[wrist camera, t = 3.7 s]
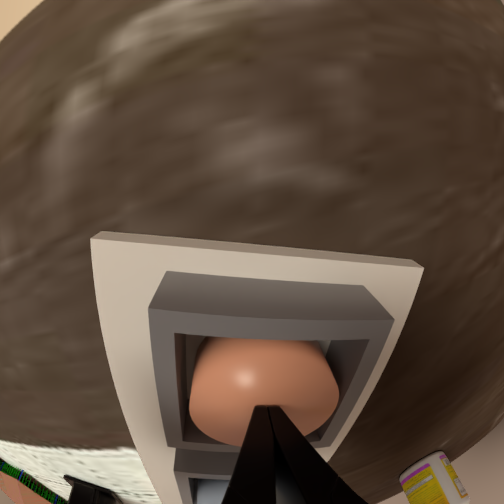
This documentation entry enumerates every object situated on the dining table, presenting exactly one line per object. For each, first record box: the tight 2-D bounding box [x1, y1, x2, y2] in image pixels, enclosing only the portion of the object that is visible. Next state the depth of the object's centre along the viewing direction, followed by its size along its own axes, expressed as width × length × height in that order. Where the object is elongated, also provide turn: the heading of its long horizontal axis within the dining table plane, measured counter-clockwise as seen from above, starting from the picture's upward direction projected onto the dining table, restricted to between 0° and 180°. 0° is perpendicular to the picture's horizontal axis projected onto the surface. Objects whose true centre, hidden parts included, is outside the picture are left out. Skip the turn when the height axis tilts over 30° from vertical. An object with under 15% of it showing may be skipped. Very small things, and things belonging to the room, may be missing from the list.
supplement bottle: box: [399, 451, 470, 504], centre depth 15 cm, size 7×7×13 cm
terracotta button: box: [189, 336, 339, 447], centre depth 9 cm, size 5×5×2 cm
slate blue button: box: [197, 478, 230, 504], centre depth 11 cm, size 5×5×2 cm
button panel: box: [90, 231, 424, 504], centre depth 13 cm, size 29×13×4 cm, turn 173°
